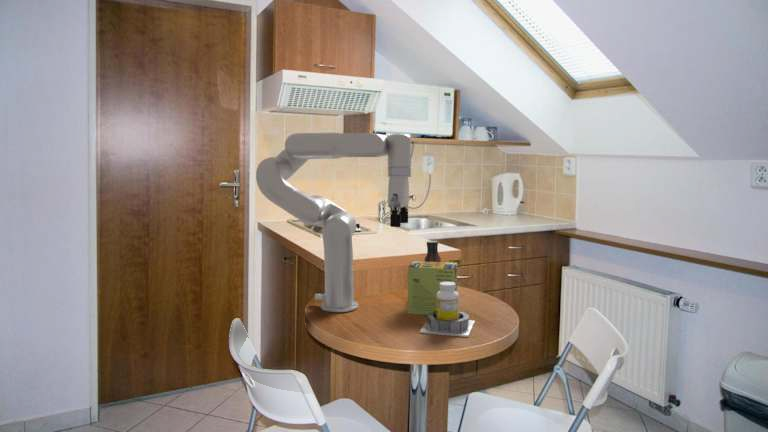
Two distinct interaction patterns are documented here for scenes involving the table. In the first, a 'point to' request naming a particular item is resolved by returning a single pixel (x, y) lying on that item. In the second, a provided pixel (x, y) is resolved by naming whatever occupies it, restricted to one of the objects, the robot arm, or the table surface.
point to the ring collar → (448, 325)
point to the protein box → (427, 284)
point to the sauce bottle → (432, 252)
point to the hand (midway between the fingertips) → (399, 224)
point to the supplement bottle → (447, 302)
